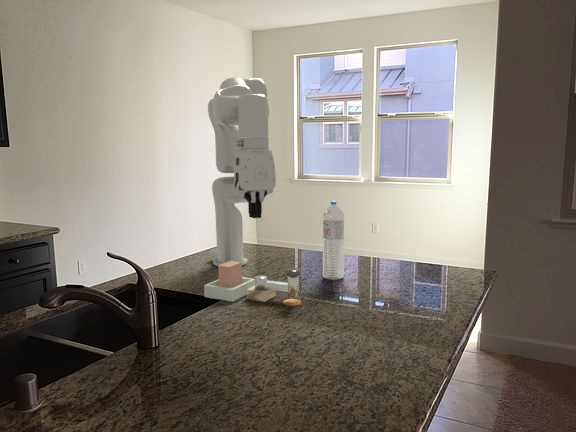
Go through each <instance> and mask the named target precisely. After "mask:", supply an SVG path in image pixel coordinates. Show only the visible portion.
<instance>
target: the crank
mask: <svg viewBox="0 0 576 432" xmlns="http://www.w3.org/2000/svg"><path fill="white" fill-rule="evenodd" d="M285 275H286V276H287V282H284V281H276V280H268V276H266V275H256V276H254V279H255V288H256V289H268V290H276V292H284V293H288V294H298V293H299V292H300V287H299V286H300V284H299V281H300V280H299V279H300V278H299V276H300V275H301V269H299V268H288V269H286V270H285Z"/></svg>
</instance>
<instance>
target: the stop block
mask: <svg viewBox="0 0 576 432" xmlns="http://www.w3.org/2000/svg"><path fill="white" fill-rule="evenodd" d="M242 266H243V265H242V262H236V261H228V262H226V263H223V264H220V265H218V266H217V267H218V269H217V270H218V279H219V287H225V288H231V289H232V288H234V287H236V286H238V285H241V284H242V277H243V272H242V271H243V268H242Z"/></svg>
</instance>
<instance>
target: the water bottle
mask: <svg viewBox="0 0 576 432" xmlns="http://www.w3.org/2000/svg"><path fill="white" fill-rule="evenodd" d="M344 221H345V214H344V212H343V210H342V209H341V208H340V207H338V206H337V200H332V201H330V206H328V208H325V210H324V212H323V214H322V222H323V223H322V224H323V225H322V229H323V230H322V276H323V277H322V278H323V279H326V280H329V281H337V280H338V281H339V280H341V279H343V278H344V276H345V237H344V236H345V235H344V234H345V233H344V230H345V227H344V225H345V224H344V223H345V222H344Z"/></svg>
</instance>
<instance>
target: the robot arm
mask: <svg viewBox="0 0 576 432" xmlns="http://www.w3.org/2000/svg"><path fill="white" fill-rule="evenodd" d="M267 88H268V87H267V85H266V83H265V81H264V80H263V79H262V78H259V77H238V76H237V77H228V78H226V79H225V80H223V81H222V83H220V86H219V89H218V90H217V91H216V92H215V94H214V95H213V97H212V99H210V100H209V101H208V103H207V114H208V118H209V120H210V123H211V126H212V129H213V132H214V137H215V139H214V140H215V144H214V145H215V166H216V169H217V171H218V172H219V173H223V174H233V176H221V177H218V178H215V179H214V180H213V182H212V186H211V189H212V191H211V192H212V196H213V201H214V211H215V234H216V236H215V237H216V238H215V239H216V249H211V250H210V252H209V256H211V257H214V259H213V260H212V262H213V263H212V265H214V266H216V267H218V265H220V264H223V263H226V262H228V261H236V262H242V266H244V265H247V264H248V262H249V261H248V259H249V258H247V257H245V256H244V237H243V236H244V232H243V231H244V229H243V213H242V212H241V211H240V209H239V208H238V207H237V206H236V205H235V204H241V203H242V204H245V203H248V209H247V210H248V215H249V218H252V219H261V218H262V212H263V211H262V210H263V208H262V204H263V202H264V200H265V197H266V196H268V195H271V194H272V193H273V192H274V189H275V188H276V186H277V185H276V184H277V180H276V179H277V178H276V168H275V167H276V166H275V160H274V156H273V152H272V150H270V149H269V146H270V145H269V144H270V143H269V117H270V106H269V100H268V89H267Z"/></svg>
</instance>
